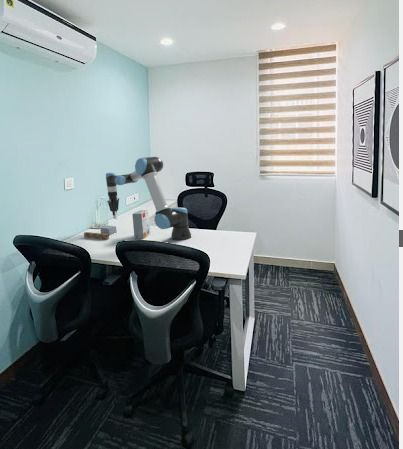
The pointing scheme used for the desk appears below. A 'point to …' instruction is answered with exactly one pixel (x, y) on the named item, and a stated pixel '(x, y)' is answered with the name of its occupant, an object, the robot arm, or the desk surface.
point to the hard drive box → (141, 224)
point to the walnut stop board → (96, 235)
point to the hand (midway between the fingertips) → (115, 218)
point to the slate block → (108, 230)
